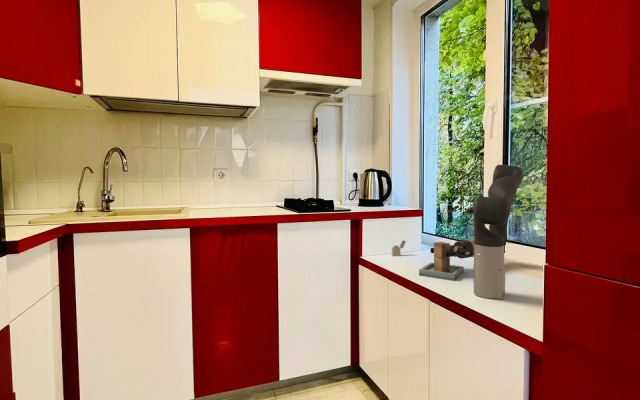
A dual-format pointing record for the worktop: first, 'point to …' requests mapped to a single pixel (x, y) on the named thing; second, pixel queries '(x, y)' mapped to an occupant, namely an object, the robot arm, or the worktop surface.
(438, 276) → the tray
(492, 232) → the robot arm
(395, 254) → the lighter
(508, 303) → the worktop surface
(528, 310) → the worktop surface
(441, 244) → the tall wooden block
